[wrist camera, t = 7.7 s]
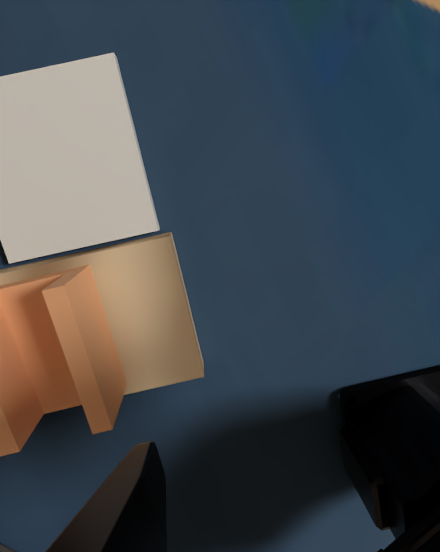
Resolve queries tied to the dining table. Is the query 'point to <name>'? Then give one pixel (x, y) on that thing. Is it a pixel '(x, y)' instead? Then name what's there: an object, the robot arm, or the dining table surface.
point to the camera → (5, 549)
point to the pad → (69, 160)
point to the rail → (137, 307)
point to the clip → (55, 355)
